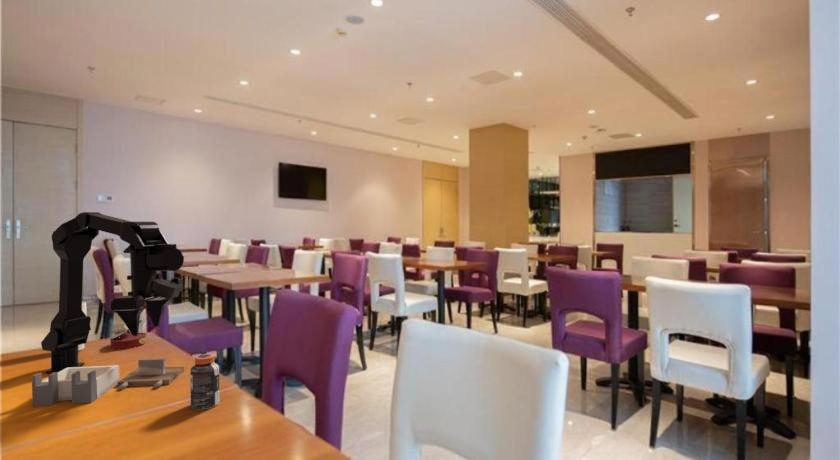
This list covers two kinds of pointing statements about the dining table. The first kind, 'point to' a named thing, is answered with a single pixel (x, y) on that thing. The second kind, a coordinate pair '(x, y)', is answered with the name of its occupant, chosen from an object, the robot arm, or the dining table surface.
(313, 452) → the dining table surface
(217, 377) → the pill bottle
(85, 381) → the grey notched open box
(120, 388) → the grey tabbed base plate
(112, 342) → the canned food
